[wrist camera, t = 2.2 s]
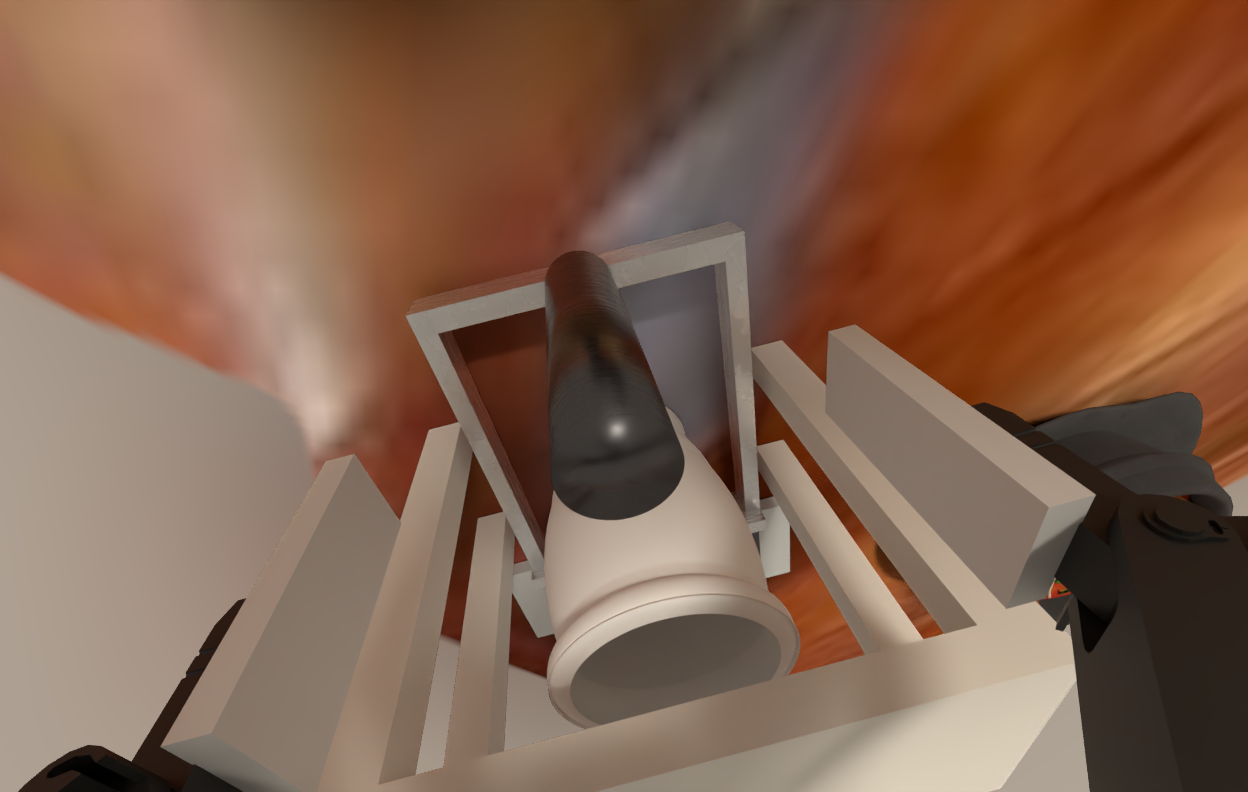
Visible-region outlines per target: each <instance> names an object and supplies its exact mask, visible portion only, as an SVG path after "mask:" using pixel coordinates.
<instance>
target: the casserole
mask: <svg viewBox="0 0 1248 792" xmlns="http://www.w3.org/2000/svg"><path fill="white" fill-rule="evenodd" d="M1202 418H1203V412H1202V408H1201V404H1200V401H1199V400H1198V399H1197V398H1196V397H1195V396H1194V395H1193V394H1191V393H1184V392H1175V393H1171V394H1166V395H1162V396H1158V397H1154V398H1150V399H1147V400H1143V401H1139V402H1136V403H1130V404H1121V405H1111V406H1102V407H1093V408H1087V409H1083V410H1080V411H1076V412H1072V413H1069V414H1065V415H1063V416H1060V417H1058V418H1055V419H1053V420H1050V421H1048V422H1045V423H1043V424H1041V425H1038V426H1036V427H1035V428H1036V431H1041V432H1043V433H1044V434H1046V435H1047V436H1049V437H1050V438H1052V439H1053V440H1055V441H1054V442H1055V443H1056V444H1061V445H1062V446H1064V447H1065V448H1067V449H1068V450H1070V451H1071V452H1073V453H1075V454H1076V455H1078V456H1079V457H1081V458H1082V459H1084V460H1085V461H1087V462H1088V463H1090V464H1091V465H1093V466H1094V467H1096V468H1097V469H1099V470H1100V471H1102V472H1103V473H1105V474H1106V475H1108V476H1109V477H1111V478H1112V479H1114V480H1115V481H1117V482H1119V483H1120V484H1122V485H1123V486H1125V487H1126V488H1128V489H1129V490H1131V491H1132V492H1134V493H1136V494H1138V495H1140V494H1155V495H1166V496H1170V497H1174V498H1178V499H1181V500H1185V501H1189V502H1191V503H1194V504H1196V505H1198V506H1200V507H1203V508H1205V509H1207V510H1209V511H1211V512H1213V513H1215V514H1216V515H1217V516H1232V510H1233V503H1232V500H1231V497H1230V496H1229V495H1228V494H1227V493H1226V492H1225V490H1224V489H1223V488H1222V487H1221V486H1220V485H1219V484H1218V483H1217V482H1216V481H1215V477H1214V473H1213V470H1212V467H1211V465H1209V464H1208V463H1207V462H1206V461H1205V460H1204V459H1203V458H1201V457H1198V456H1195V455H1192V452H1193V450H1194V449H1195V447H1196V444H1197V441H1198V439H1199V436H1200V434H1201V429H1202ZM1070 595H1071V592H1070V591H1069V590H1068V589H1067V588H1066V587H1065V586H1063V585H1062V584H1061V583H1060V582H1059V581H1058V580H1057V579H1056V578H1055V580H1054V582H1053V584H1052V586H1051V588H1050V590H1049V592H1048V594H1047V596H1046V598H1045V599H1041V600H1038V601H1036V602H1037V603H1038V604H1039V605H1040V606H1041V607H1042V608H1043V609H1044V610H1045V611H1046V612H1047V613H1048V614H1049V615H1050V616H1051V617H1052V618H1053V619H1054V620H1055V621H1056V622H1057V619H1058V617H1059V616H1060V614H1061V612H1062V610H1063V608H1064V606H1065V604H1066V602H1067V601H1068V599H1069V597H1070ZM1069 624H1070V620H1069V622H1068V624H1067V625H1069Z"/></svg>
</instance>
